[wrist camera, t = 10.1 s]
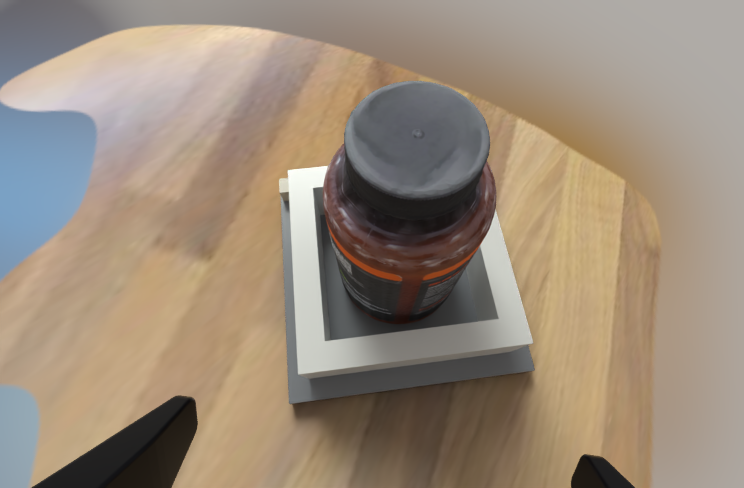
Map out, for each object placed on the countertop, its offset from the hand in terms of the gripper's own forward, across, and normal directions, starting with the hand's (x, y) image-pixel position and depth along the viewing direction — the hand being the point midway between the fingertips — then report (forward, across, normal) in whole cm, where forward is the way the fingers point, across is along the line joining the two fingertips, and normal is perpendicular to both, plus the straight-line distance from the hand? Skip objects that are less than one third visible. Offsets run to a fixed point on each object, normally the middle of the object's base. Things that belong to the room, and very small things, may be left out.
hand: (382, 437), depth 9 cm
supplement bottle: (+12, 0, +2) cm, 12 cm away
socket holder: (+13, 0, +2) cm, 13 cm away
